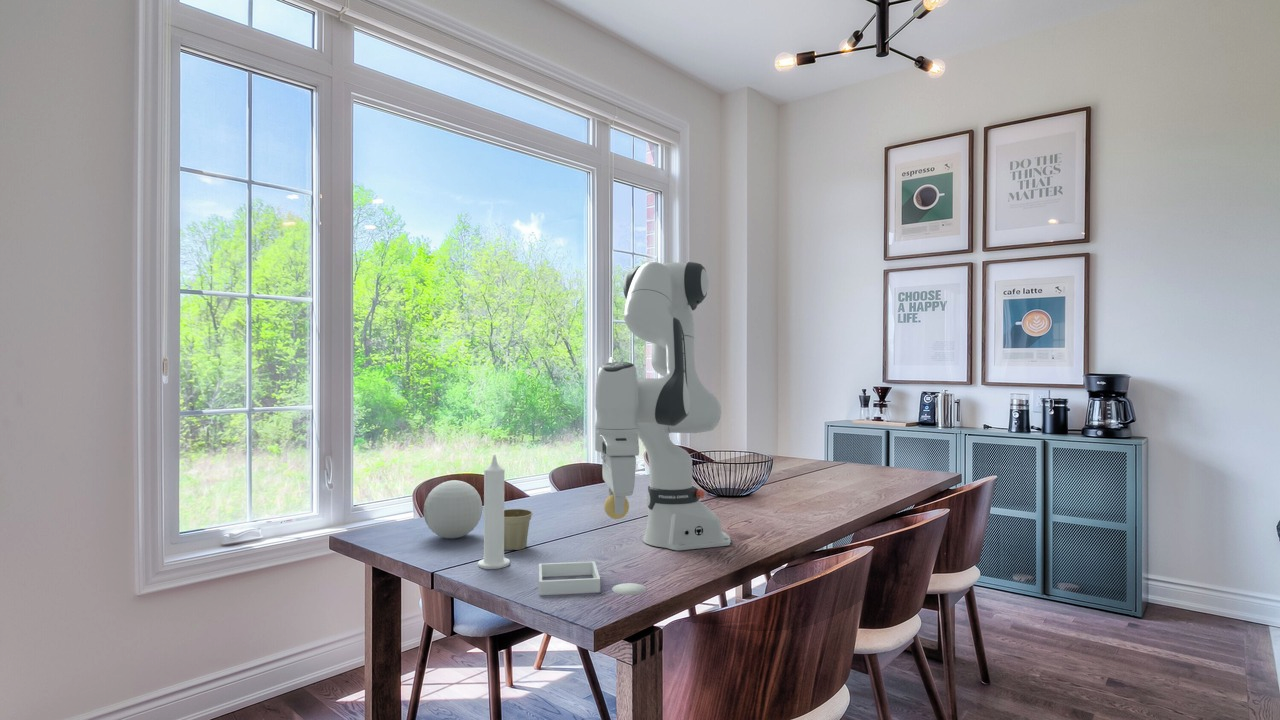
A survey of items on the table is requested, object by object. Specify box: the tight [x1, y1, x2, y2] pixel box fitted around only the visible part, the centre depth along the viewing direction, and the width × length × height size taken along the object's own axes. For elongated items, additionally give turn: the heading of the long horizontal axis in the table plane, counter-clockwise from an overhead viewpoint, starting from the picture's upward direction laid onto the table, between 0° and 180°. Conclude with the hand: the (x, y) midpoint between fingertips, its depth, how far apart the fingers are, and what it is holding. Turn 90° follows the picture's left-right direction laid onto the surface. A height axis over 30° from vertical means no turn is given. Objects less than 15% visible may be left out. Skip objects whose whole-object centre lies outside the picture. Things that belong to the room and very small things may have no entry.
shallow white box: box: [538, 560, 601, 596], centre depth 137 cm, size 12×12×3 cm
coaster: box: [611, 582, 647, 596], centre depth 134 cm, size 7×7×1 cm
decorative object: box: [423, 479, 483, 539], centre depth 176 cm, size 15×15×15 cm
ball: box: [603, 494, 630, 520], centre depth 135 cm, size 5×5×5 cm
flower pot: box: [504, 508, 534, 551], centre depth 166 cm, size 9×9×9 cm
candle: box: [477, 454, 511, 570], centre depth 152 cm, size 7×7×25 cm
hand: (616, 510), depth 135 cm, fingers closed on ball, 5 cm apart
